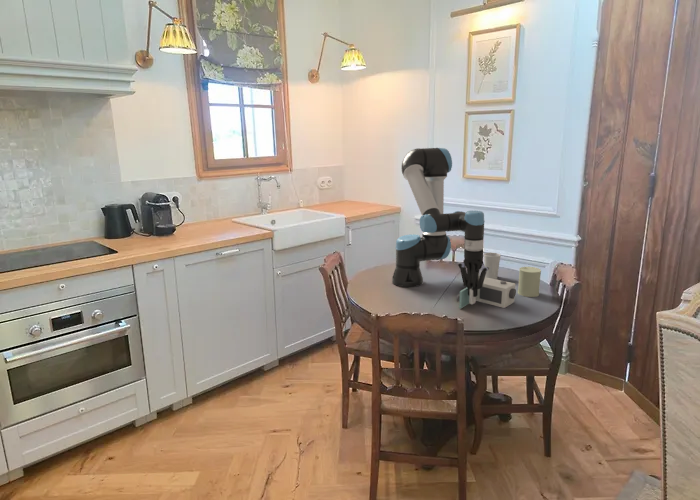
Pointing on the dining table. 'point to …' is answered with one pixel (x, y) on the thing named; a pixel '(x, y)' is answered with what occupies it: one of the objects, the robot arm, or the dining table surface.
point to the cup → (492, 264)
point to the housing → (496, 292)
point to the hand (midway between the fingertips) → (472, 303)
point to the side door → (463, 298)
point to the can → (529, 281)
